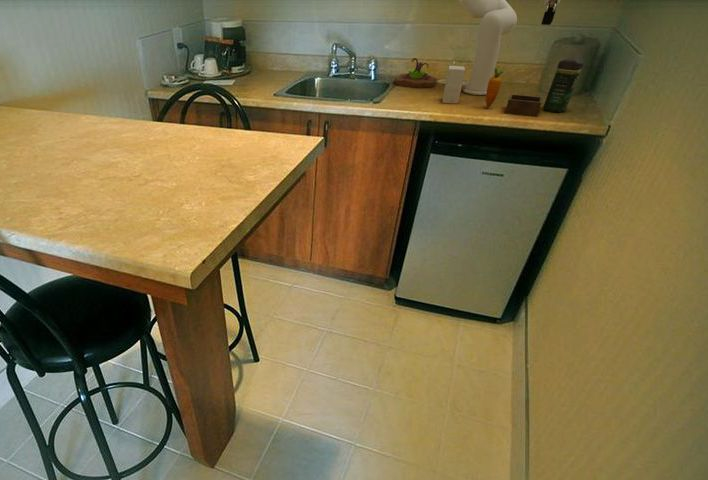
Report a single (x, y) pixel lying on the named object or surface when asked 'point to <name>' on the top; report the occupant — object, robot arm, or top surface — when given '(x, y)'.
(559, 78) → the coffee jar
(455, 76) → the small box
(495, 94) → the carrot
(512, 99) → the pen box
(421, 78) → the plant
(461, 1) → the robot arm
